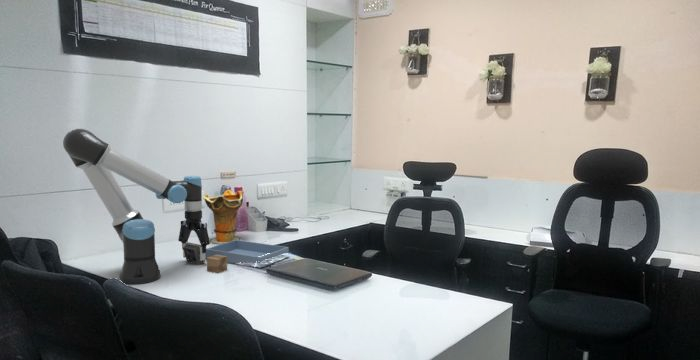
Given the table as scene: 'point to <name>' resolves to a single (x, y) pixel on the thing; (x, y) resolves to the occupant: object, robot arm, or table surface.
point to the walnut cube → (216, 263)
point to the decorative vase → (225, 215)
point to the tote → (245, 251)
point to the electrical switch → (192, 253)
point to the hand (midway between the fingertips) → (194, 258)
